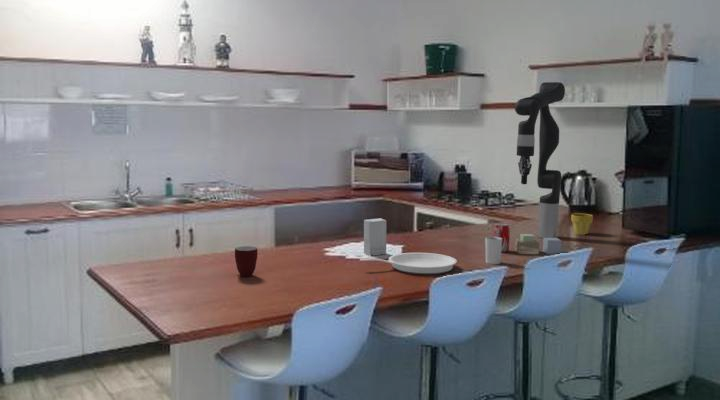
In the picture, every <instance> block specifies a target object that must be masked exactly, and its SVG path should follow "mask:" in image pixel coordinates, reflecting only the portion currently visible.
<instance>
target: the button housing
mask: <svg viewBox="0 0 720 400" xmlns="http://www.w3.org/2000/svg"><path fill="white" fill-rule="evenodd" d="M514 246H515V249H514V250H515V251H516V252H517V253H518V254H519V255H539V253H540V242H539V241H537V240H536V239H535V242H522V241H520V238H516V239H515V245H514Z"/></svg>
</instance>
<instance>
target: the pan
mask: <svg viewBox="0 0 720 400" xmlns="http://www.w3.org/2000/svg"><path fill="white" fill-rule="evenodd" d="M359 261H361V262H367V261H377V262H378V261H379V262H383V263H388V264H391V265H392V268H393V269H395V270H396V271H399V272H402V273H406V274H413V275H438V274H440V275H441V274H444V273H445V274H446V273H448V272H450V271H451V270H452V269H453V268H454V265H456V264H457V262H458V260H457V259H456V258H455V257H453V256H449V255H446V254H441V253H440V254H439V253H434V252H433V253H432V252H404V253H398V254H394V255H393V254H392V255H391V256H390V257H388V259H387V260H385V259H381V258H369V257H368V258H367V257H366V258H360V259H359Z"/></svg>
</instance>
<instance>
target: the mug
mask: <svg viewBox="0 0 720 400" xmlns="http://www.w3.org/2000/svg"><path fill="white" fill-rule="evenodd" d="M234 258H235V264H236V265H235V266H236V270H237V272H238V273H239V275H240V276H241V277H242V278H244V277H245V278H249V277H252V276H253V274H254V272H255V271H256V270H255V269H256V265H257V261H258V247H256V246H251V245H250V246H247V245H245V246H238V247H235V248H234Z"/></svg>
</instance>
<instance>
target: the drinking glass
mask: <svg viewBox="0 0 720 400" xmlns="http://www.w3.org/2000/svg"><path fill="white" fill-rule="evenodd" d="M484 239H485V240H484V241H485V243H484V244H485V246H484V247H485V263H486V264H488V263H489V265H499V264H501V259H502V258H501V256H502V252H501V247H502V238H500V237H493V236H486V237H485V238H484Z"/></svg>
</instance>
